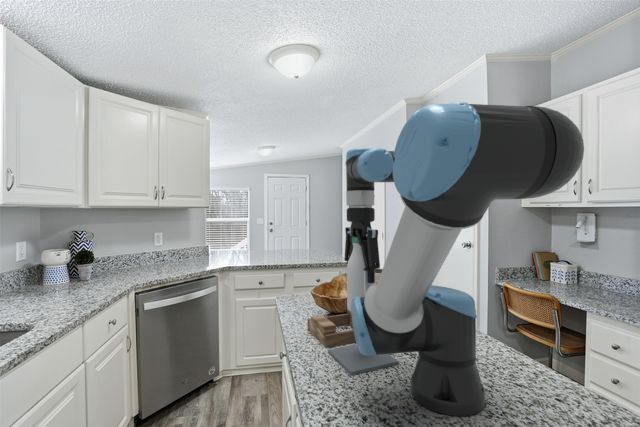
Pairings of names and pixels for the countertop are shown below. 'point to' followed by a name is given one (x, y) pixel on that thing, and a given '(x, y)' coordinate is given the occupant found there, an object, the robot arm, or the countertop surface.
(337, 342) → the frame
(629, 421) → the countertop surface
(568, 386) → the countertop surface
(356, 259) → the milk bottle
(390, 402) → the countertop surface
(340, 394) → the countertop surface
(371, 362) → the rubber mat
